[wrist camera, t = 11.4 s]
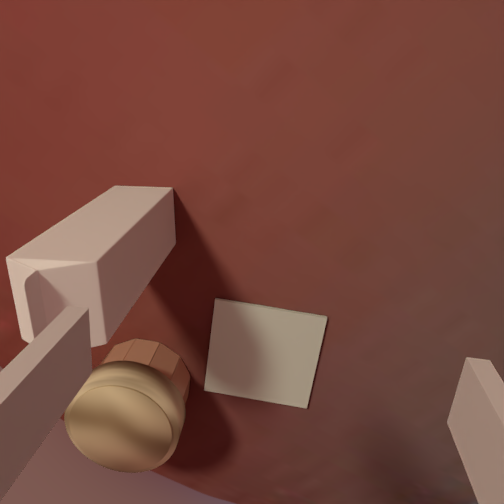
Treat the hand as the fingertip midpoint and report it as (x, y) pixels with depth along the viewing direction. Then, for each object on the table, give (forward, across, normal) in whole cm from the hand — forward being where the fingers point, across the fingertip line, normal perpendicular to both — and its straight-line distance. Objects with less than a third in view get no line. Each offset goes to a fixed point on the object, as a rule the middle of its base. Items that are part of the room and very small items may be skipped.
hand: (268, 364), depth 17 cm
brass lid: (+25, +14, +25) cm, 38 cm away
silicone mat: (+31, +1, +20) cm, 37 cm away
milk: (+31, +14, +5) cm, 34 cm away
